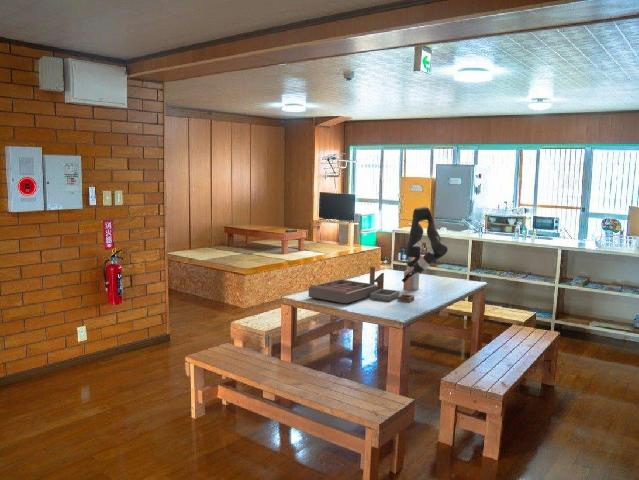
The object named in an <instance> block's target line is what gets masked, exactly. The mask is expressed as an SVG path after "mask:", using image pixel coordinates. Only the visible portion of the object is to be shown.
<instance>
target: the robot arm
mask: <svg viewBox="0 0 639 480" xmlns="http://www.w3.org/2000/svg"><path fill="white" fill-rule="evenodd" d="M422 221H427V223H428V225H427V228H426V235H427V237H428V240H429V241H430V245H431V250H432V251H428V252H426V253H425V254H424V255H423V256H422V257H421V248H422V247H421V245H420V244H418V243H419V242H420V241H421V240H422V239H423V235H424V228H423V227H422V225H421V224H420V222H422ZM407 240H408V241H407V243H406V246H405V256H406V257H408V258H413V259H412V260H410V261H407V262H406V270H407V271H410V272H409V273H408V274H407V275H406V276H405V278H404V277H403V278H402V279H401V281H402V282H403V283H404V282H405V281H406V280H408V279H409V278H410V288H409V290H412V291H413V290H419V288H420V287H419V285H420V274H422V273H423V272H424V271H425V270H427V268H429V266H431V265H432V264H433V263H434V262H435V261H436V260H438V259H440V258H442V257H444V256H445V255H446V254H447V253H448V246H447V245H446V244H443V243H442V242H441V240H442V239H441V236H440V234H439V232H438V230H437V227H436V224H435V221H434V218H433V214H432V212H431V210H430V207H428V206H421V207H416V208H414V209H413V212H412V221H411V227H410V231H409V237H408V239H407ZM407 276H408V277H407Z"/></svg>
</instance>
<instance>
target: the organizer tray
mask: <svg viewBox="0 0 639 480" xmlns="http://www.w3.org/2000/svg"><path fill="white" fill-rule="evenodd" d="M376 286H377V283H375V284H370V282H369V283H367V282H360V281H354V280H347V279H336V280H332V281H329V282H323V283H320V284H309V286H308V287H307V288H308V297H309V298H312V299H313V298H314V299H320V300H323V301H328V302H330V301H331V302H336V303H342V304H348V303H349V304H350V303H352V302H355V301H359V300H362V299H364V298H369V297H370V294H371V293H373V292H375V291H376Z"/></svg>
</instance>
